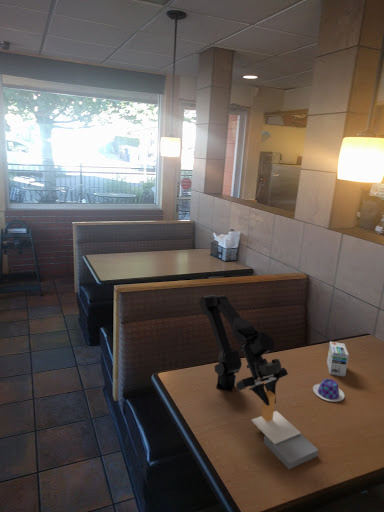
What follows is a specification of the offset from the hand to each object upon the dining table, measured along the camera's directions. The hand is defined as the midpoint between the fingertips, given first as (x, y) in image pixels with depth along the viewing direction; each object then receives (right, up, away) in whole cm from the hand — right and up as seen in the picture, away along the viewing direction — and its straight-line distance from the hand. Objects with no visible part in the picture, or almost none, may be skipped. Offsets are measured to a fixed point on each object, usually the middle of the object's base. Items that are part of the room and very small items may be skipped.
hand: (271, 404), depth 128 cm
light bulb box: (+37, -1, +42) cm, 56 cm away
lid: (+1, -7, -1) cm, 8 cm away
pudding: (+28, -5, +24) cm, 37 cm away
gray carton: (+5, -12, -6) cm, 14 cm away
